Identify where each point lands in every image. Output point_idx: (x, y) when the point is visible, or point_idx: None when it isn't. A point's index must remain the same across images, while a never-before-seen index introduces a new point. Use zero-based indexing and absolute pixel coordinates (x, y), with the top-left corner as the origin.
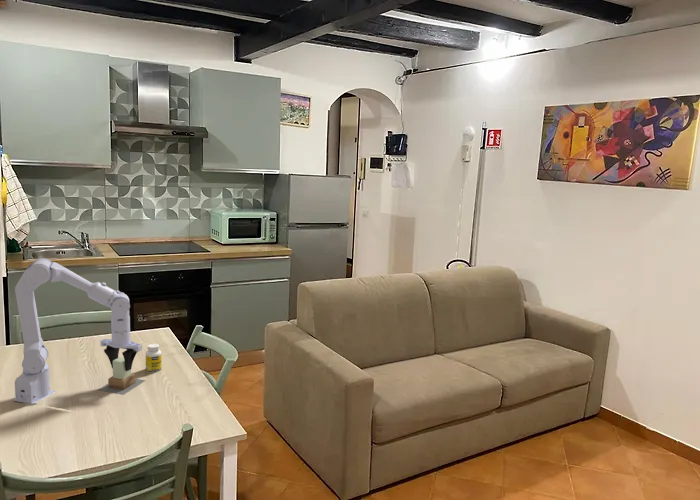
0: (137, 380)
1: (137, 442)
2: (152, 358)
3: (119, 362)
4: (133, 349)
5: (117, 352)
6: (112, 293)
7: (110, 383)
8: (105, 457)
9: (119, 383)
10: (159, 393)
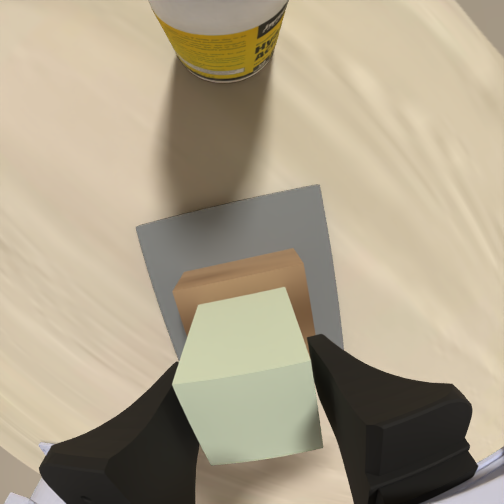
0: (275, 214)
1: (500, 445)
2: (264, 28)
3: (284, 452)
4: (465, 490)
5: (153, 444)
6: None
7: None
8: None
9: None
10: (459, 254)
